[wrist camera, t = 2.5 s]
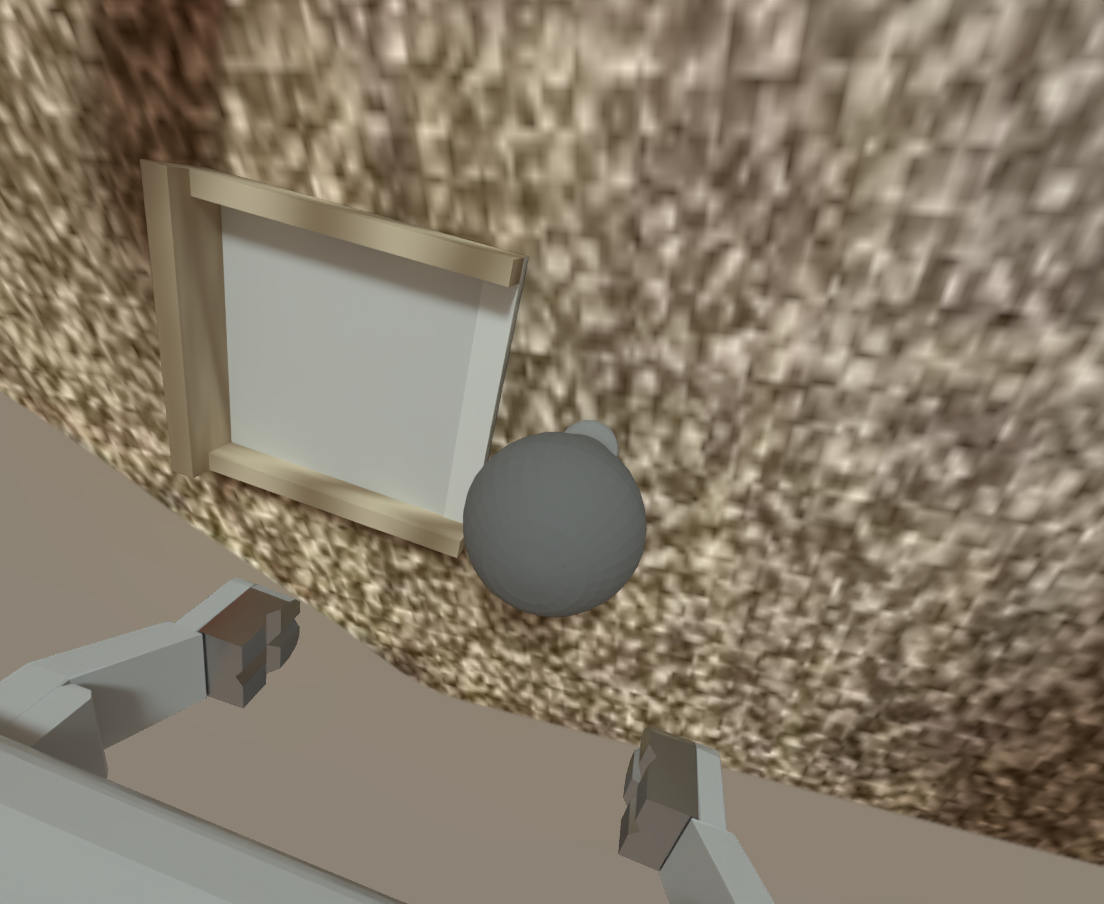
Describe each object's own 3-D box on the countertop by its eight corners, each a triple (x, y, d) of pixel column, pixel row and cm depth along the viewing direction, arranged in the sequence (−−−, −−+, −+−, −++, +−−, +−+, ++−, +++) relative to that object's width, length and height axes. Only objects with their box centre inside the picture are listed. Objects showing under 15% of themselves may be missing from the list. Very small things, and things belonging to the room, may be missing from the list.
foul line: (528, 257, 21) (524, 257, 20) (472, 536, 27) (468, 542, 27) (493, 247, 21) (488, 247, 21) (445, 527, 27) (441, 533, 27)
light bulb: (590, 350, 22) (522, 435, 13) (687, 450, 23) (685, 597, 14) (500, 438, 24) (392, 559, 16) (590, 525, 25) (535, 690, 16)
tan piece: (528, 257, 21) (504, 261, 18) (472, 536, 27) (448, 570, 24) (204, 166, 23) (139, 158, 20) (220, 448, 29) (172, 470, 26)
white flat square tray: (528, 257, 21) (525, 257, 21) (472, 536, 27) (468, 541, 27) (204, 166, 23) (194, 165, 22) (220, 448, 29) (213, 451, 28)
